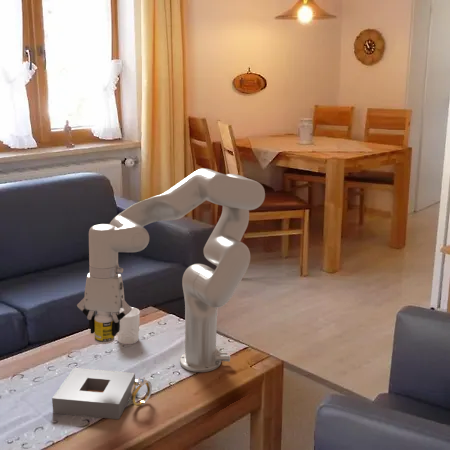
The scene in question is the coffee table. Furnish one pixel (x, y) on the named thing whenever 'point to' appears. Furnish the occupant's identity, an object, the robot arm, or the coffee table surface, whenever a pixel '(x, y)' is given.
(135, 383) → the ring
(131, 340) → the white cup
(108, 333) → the supplement bottle
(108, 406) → the socket block
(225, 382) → the coffee table surface
